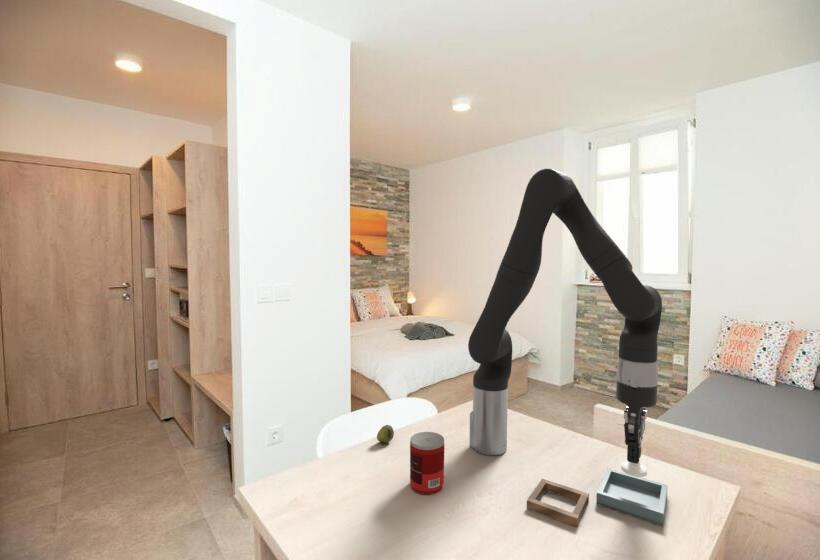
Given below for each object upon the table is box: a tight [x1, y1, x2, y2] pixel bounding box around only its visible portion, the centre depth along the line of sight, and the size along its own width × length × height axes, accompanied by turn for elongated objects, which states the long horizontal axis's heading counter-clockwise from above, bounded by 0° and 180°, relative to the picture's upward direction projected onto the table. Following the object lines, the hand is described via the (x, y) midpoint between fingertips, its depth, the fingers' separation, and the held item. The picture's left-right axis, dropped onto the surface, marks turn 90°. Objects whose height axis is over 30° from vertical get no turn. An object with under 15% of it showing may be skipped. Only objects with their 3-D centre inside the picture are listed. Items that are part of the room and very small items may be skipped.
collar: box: [526, 478, 590, 528], centre depth 86 cm, size 10×10×2 cm
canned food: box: [409, 431, 445, 496], centre depth 93 cm, size 8×8×11 cm
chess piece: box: [620, 430, 648, 478], centre depth 87 cm, size 5×5×10 cm
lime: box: [376, 424, 395, 444], centre depth 114 cm, size 4×5×5 cm
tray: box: [595, 467, 669, 527], centre depth 87 cm, size 12×12×3 cm
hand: (633, 459), depth 87 cm, fingers closed on chess piece
